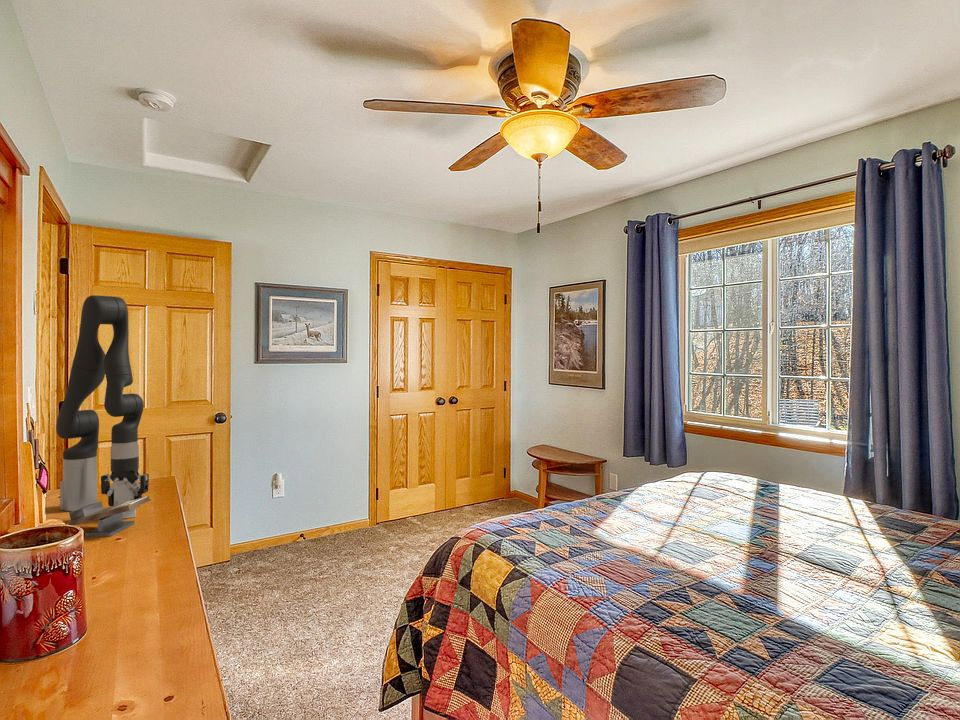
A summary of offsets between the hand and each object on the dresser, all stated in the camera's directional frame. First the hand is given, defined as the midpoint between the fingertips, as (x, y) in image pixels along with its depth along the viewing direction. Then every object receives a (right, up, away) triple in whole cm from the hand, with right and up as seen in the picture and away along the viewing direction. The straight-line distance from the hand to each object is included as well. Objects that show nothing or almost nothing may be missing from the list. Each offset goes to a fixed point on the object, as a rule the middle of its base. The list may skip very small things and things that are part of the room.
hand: (125, 506), depth 169 cm
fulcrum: (+4, -3, -13) cm, 14 cm away
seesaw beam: (+4, +2, -13) cm, 14 cm away
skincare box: (0, -3, 0) cm, 3 cm away
